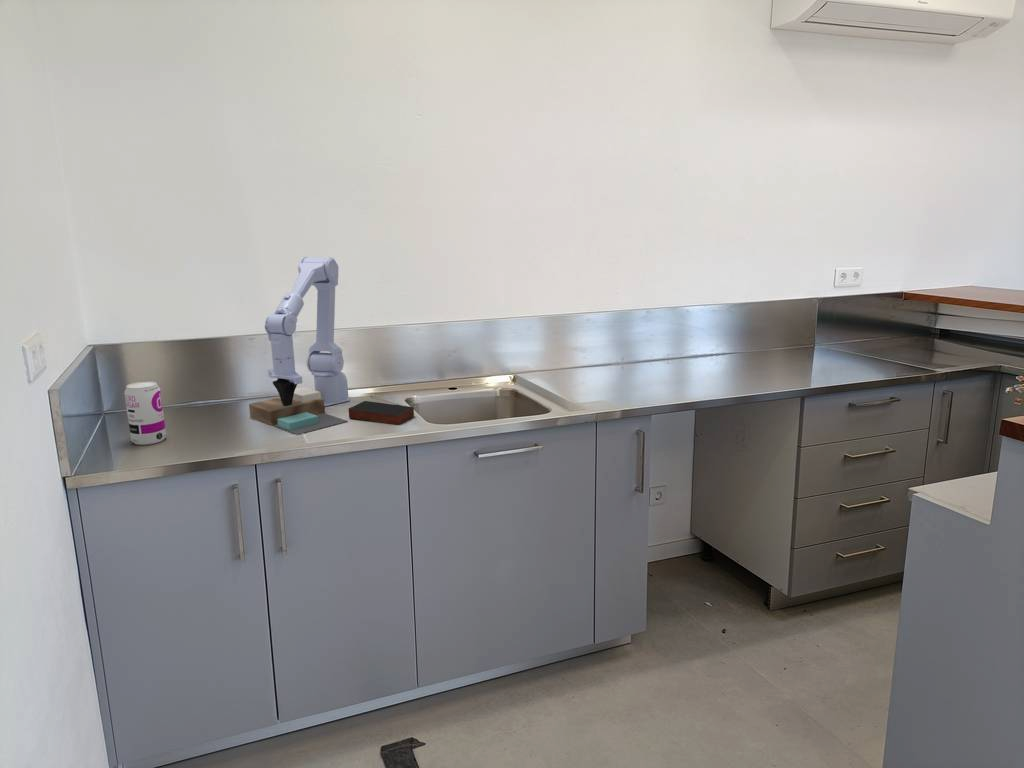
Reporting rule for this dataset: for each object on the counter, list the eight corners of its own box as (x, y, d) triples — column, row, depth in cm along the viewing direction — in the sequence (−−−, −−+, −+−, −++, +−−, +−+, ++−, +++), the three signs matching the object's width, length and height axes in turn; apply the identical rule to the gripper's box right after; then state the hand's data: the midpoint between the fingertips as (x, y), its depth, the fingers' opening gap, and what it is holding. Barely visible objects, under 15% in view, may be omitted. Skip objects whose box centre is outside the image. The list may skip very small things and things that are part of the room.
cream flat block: (286, 397, 215) (285, 390, 214) (304, 393, 219) (303, 386, 219) (302, 402, 209) (302, 395, 208) (321, 398, 213) (320, 391, 213)
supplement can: (171, 435, 193) (164, 380, 190) (158, 445, 185) (150, 388, 182) (140, 436, 193) (133, 381, 189) (125, 446, 185) (117, 389, 181)
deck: (302, 405, 221) (301, 392, 220) (324, 412, 213) (323, 399, 212) (250, 417, 209) (248, 403, 208) (271, 425, 201) (270, 411, 200)
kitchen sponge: (399, 426, 201) (425, 411, 214) (398, 415, 200) (425, 401, 213) (342, 418, 207) (371, 403, 221) (341, 408, 206) (370, 394, 220)
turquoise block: (318, 416, 201) (318, 423, 202) (306, 412, 205) (306, 418, 206) (288, 423, 195) (289, 430, 195) (277, 419, 199) (277, 426, 199)
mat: (323, 413, 212) (323, 413, 212) (347, 421, 204) (347, 420, 204) (273, 426, 200) (273, 425, 200) (296, 435, 192) (296, 434, 192)
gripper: (256, 356, 202) (261, 403, 205) (283, 363, 192) (288, 412, 195) (279, 352, 207) (283, 398, 210) (307, 359, 197) (311, 407, 200)
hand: (287, 405), depth 203 cm, fingers closed
